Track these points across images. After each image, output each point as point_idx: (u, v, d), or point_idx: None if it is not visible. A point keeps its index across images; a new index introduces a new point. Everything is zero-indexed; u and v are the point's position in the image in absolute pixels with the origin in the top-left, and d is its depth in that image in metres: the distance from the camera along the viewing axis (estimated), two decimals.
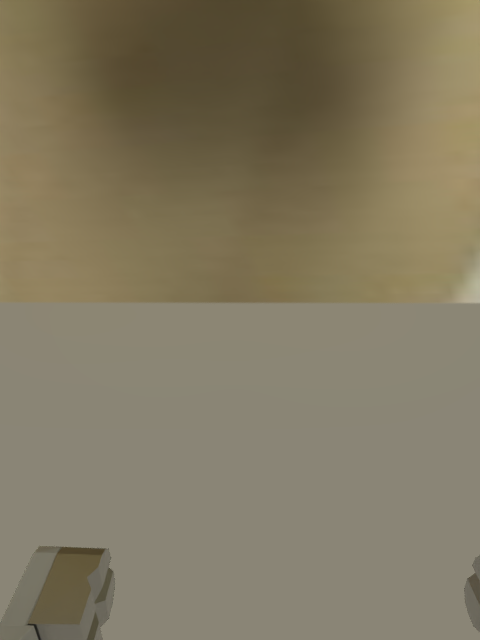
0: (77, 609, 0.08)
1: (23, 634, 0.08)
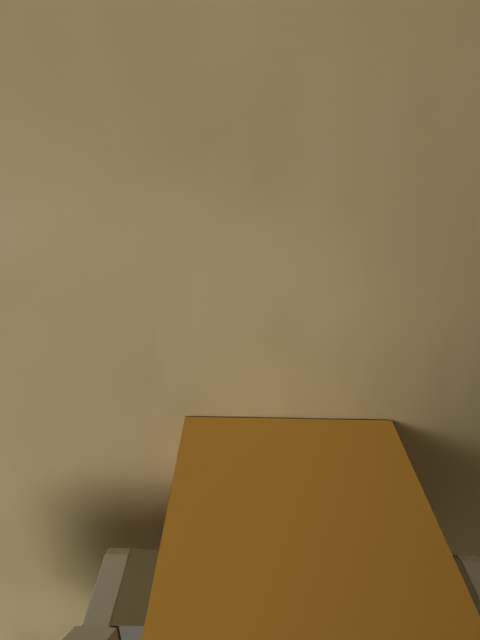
0: None
1: (107, 636, 0.08)
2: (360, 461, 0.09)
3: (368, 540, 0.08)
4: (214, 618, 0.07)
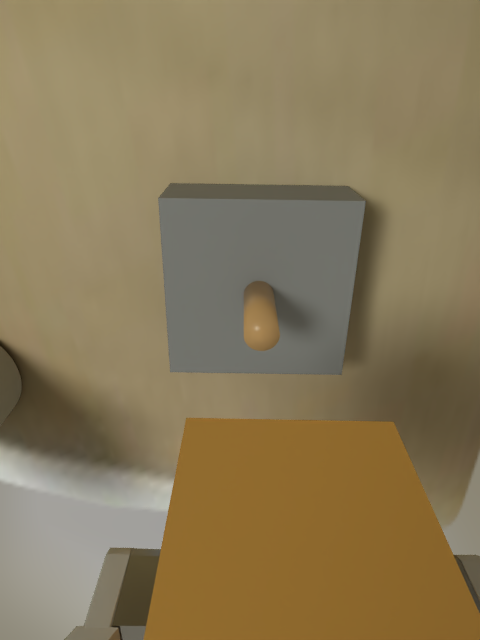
0: None
1: (109, 636, 0.08)
2: (362, 463, 0.09)
3: (370, 542, 0.08)
4: (215, 621, 0.07)
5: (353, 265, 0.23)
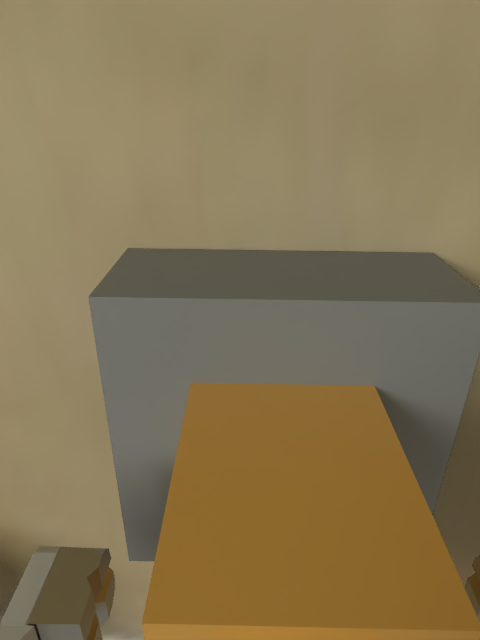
0: (77, 609, 0.08)
1: (23, 634, 0.08)
2: (345, 418, 0.11)
3: (349, 477, 0.09)
4: (217, 533, 0.08)
5: (456, 410, 0.12)
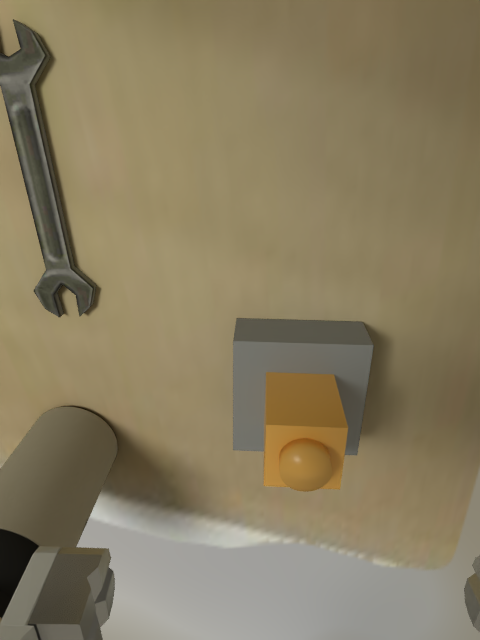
0: (77, 609, 0.08)
1: (23, 634, 0.08)
2: (321, 384, 0.31)
3: (320, 399, 0.30)
4: (281, 410, 0.29)
5: (365, 384, 0.33)
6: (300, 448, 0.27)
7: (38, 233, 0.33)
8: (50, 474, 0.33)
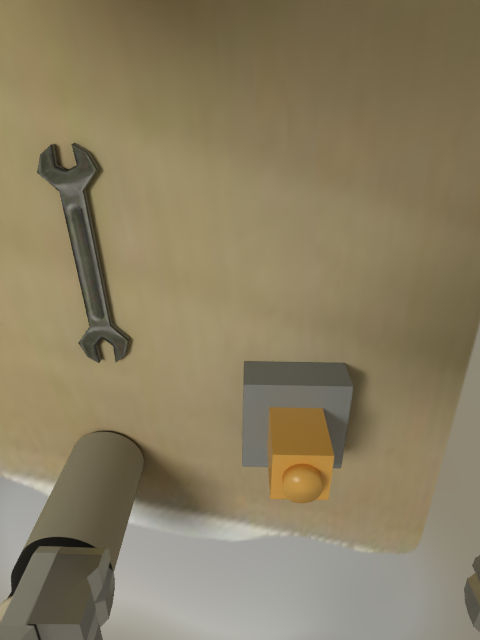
0: (77, 609, 0.08)
1: (23, 634, 0.08)
2: (313, 417, 0.40)
3: (312, 431, 0.39)
4: (283, 441, 0.37)
5: (347, 415, 0.42)
6: (298, 472, 0.36)
7: (84, 299, 0.40)
8: (99, 492, 0.41)
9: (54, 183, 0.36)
